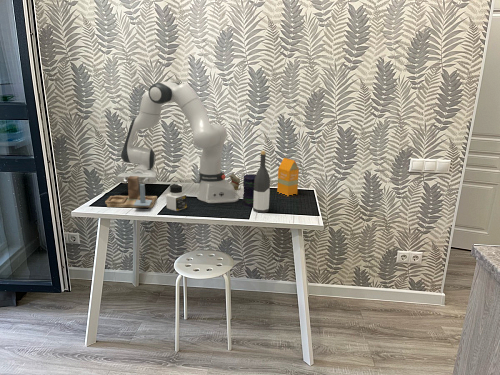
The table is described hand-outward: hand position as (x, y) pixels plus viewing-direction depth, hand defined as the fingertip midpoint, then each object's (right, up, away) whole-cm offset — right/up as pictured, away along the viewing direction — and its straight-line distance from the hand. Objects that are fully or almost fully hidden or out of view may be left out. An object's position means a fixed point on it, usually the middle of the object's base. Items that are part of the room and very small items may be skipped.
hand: (134, 182), depth 211 cm
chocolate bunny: (+50, -4, +25) cm, 56 cm away
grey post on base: (+8, -11, -11) cm, 17 cm away
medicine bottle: (+23, -13, -8) cm, 28 cm away
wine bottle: (+65, -14, -7) cm, 67 cm away
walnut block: (0, -8, 0) cm, 8 cm away
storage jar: (+61, -12, +1) cm, 62 cm away
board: (0, -11, -2) cm, 11 cm away
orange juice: (+81, -6, +21) cm, 84 cm away
